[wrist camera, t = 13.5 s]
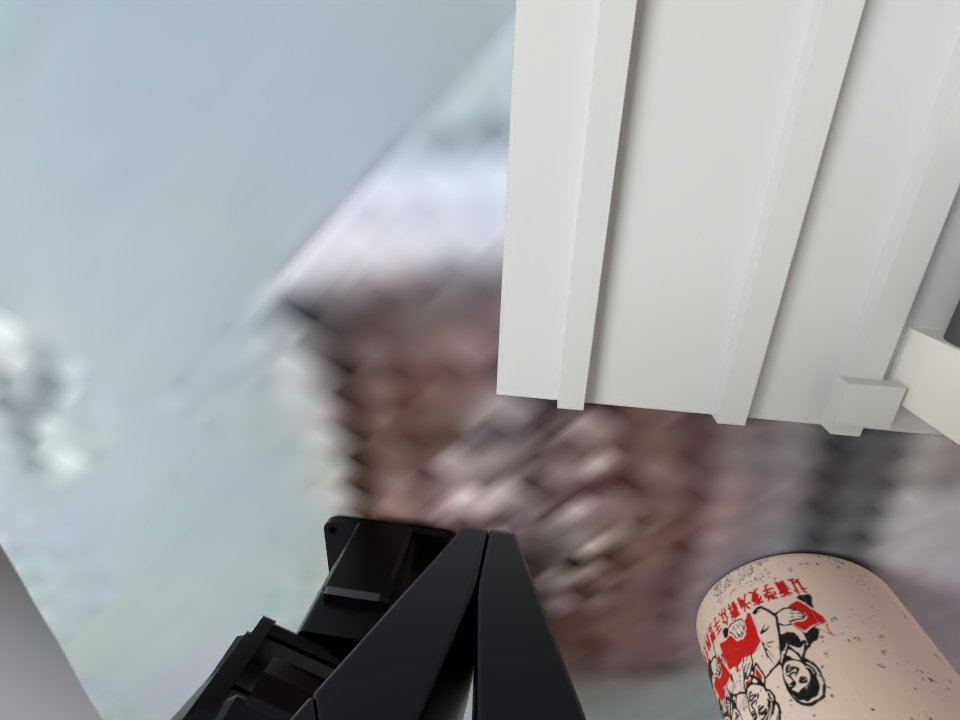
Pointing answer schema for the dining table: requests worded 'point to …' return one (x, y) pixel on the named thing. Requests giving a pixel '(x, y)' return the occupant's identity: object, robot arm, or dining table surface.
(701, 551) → the dining table surface
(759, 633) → the cream lidded jar
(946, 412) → the cream and grey dumbbell
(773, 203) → the white ribbed plate
